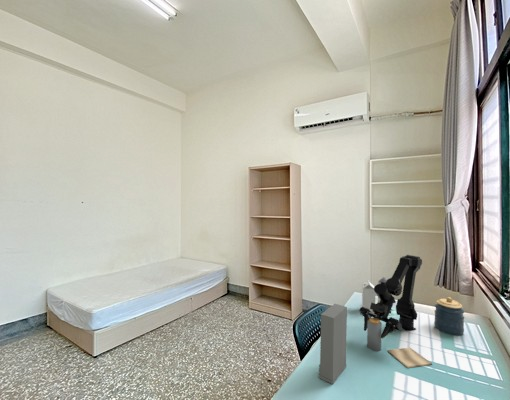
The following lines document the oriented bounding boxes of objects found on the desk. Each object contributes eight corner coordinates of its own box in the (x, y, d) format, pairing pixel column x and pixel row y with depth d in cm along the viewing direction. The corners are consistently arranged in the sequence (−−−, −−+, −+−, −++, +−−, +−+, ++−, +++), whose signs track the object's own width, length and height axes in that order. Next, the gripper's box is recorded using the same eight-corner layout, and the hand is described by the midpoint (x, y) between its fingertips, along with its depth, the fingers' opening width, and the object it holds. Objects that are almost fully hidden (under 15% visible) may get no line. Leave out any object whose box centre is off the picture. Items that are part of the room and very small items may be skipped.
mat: (409, 348, 123) (410, 347, 123) (431, 364, 112) (432, 363, 112) (387, 351, 121) (387, 350, 121) (407, 367, 109) (407, 366, 109)
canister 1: (375, 343, 128) (376, 316, 127) (383, 350, 122) (384, 322, 122) (364, 344, 126) (364, 317, 126) (372, 351, 121) (372, 323, 120)
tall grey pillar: (332, 361, 113) (333, 303, 113) (346, 367, 109) (347, 306, 109) (317, 377, 102) (318, 313, 102) (332, 385, 99) (333, 318, 98)
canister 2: (468, 338, 134) (469, 303, 134) (438, 333, 138) (439, 299, 138) (458, 326, 146) (458, 294, 146) (430, 322, 150) (431, 291, 150)
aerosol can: (377, 308, 168) (377, 277, 168) (378, 305, 174) (378, 274, 174) (389, 311, 165) (389, 279, 164) (389, 307, 171) (390, 276, 170)
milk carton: (374, 310, 166) (374, 280, 166) (375, 314, 159) (375, 283, 159) (361, 308, 168) (362, 278, 168) (362, 312, 162) (363, 282, 161)
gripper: (361, 290, 134) (348, 317, 127) (399, 302, 119) (386, 334, 112) (369, 302, 138) (357, 329, 132) (407, 315, 123) (395, 346, 117)
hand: (372, 334), depth 123 cm, fingers open, 8 cm apart
